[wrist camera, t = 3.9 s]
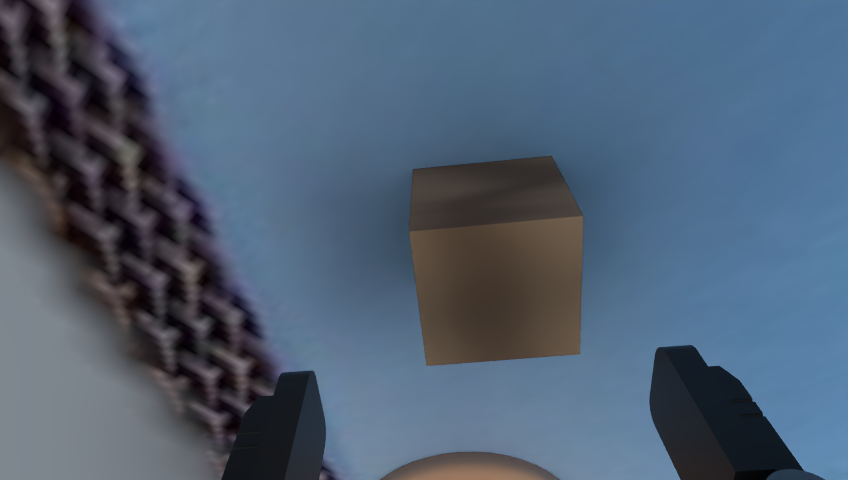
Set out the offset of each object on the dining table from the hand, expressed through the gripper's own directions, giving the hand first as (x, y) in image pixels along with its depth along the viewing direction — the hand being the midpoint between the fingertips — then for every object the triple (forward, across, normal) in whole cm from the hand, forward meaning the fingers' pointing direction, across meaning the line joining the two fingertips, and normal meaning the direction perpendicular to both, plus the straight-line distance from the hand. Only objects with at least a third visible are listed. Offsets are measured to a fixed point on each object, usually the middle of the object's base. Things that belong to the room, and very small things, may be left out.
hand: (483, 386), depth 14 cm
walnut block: (+10, -1, 0) cm, 10 cm away
